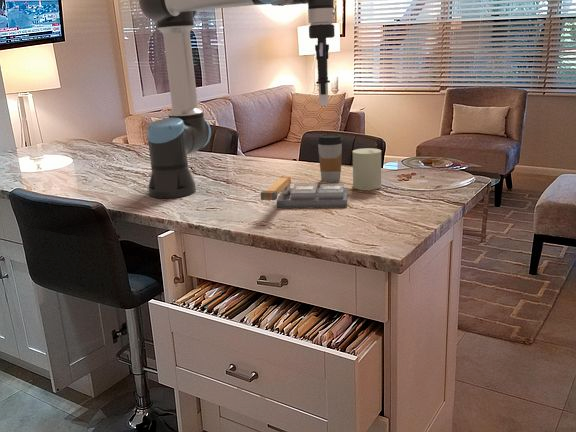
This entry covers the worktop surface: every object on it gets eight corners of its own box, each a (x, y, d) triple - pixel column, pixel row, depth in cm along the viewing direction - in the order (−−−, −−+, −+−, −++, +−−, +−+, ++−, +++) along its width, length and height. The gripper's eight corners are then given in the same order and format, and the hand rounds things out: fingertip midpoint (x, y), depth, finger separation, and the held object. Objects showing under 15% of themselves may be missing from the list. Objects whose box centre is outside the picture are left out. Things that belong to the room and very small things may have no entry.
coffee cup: (341, 183, 194) (340, 138, 190) (316, 183, 196) (315, 138, 191) (344, 177, 202) (343, 133, 198) (320, 177, 204) (319, 134, 199)
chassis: (277, 207, 170) (276, 190, 169) (283, 194, 184) (282, 178, 182) (346, 206, 168) (346, 189, 166) (347, 194, 181) (347, 177, 180)
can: (363, 191, 183) (363, 153, 179) (347, 185, 191) (346, 149, 187) (387, 187, 187) (387, 149, 183) (370, 181, 195) (370, 145, 191)
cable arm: (280, 181, 177) (280, 175, 176) (293, 182, 176) (293, 175, 175) (260, 199, 159) (260, 192, 158) (275, 200, 158) (274, 193, 157)
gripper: (333, 23, 167) (335, 107, 174) (335, 23, 180) (336, 102, 187) (306, 24, 168) (309, 108, 175) (310, 24, 181) (313, 103, 187)
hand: (323, 105), depth 181 cm, fingers closed
